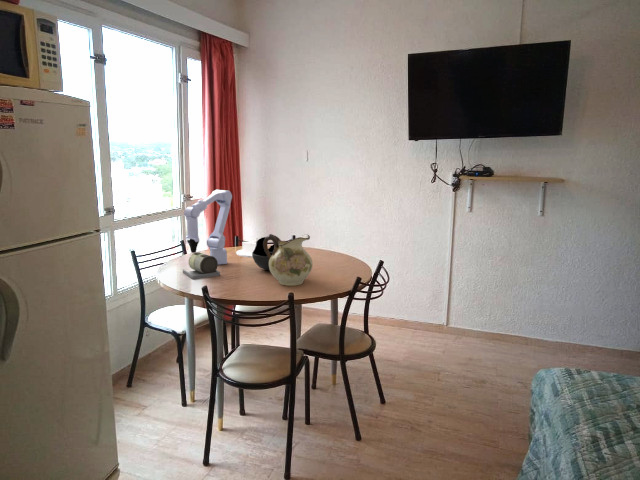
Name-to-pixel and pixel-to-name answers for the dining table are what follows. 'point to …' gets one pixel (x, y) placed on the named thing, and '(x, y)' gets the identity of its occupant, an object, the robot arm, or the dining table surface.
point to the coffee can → (203, 263)
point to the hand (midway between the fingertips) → (193, 252)
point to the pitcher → (288, 260)
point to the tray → (200, 274)
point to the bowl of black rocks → (262, 254)
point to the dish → (247, 249)
